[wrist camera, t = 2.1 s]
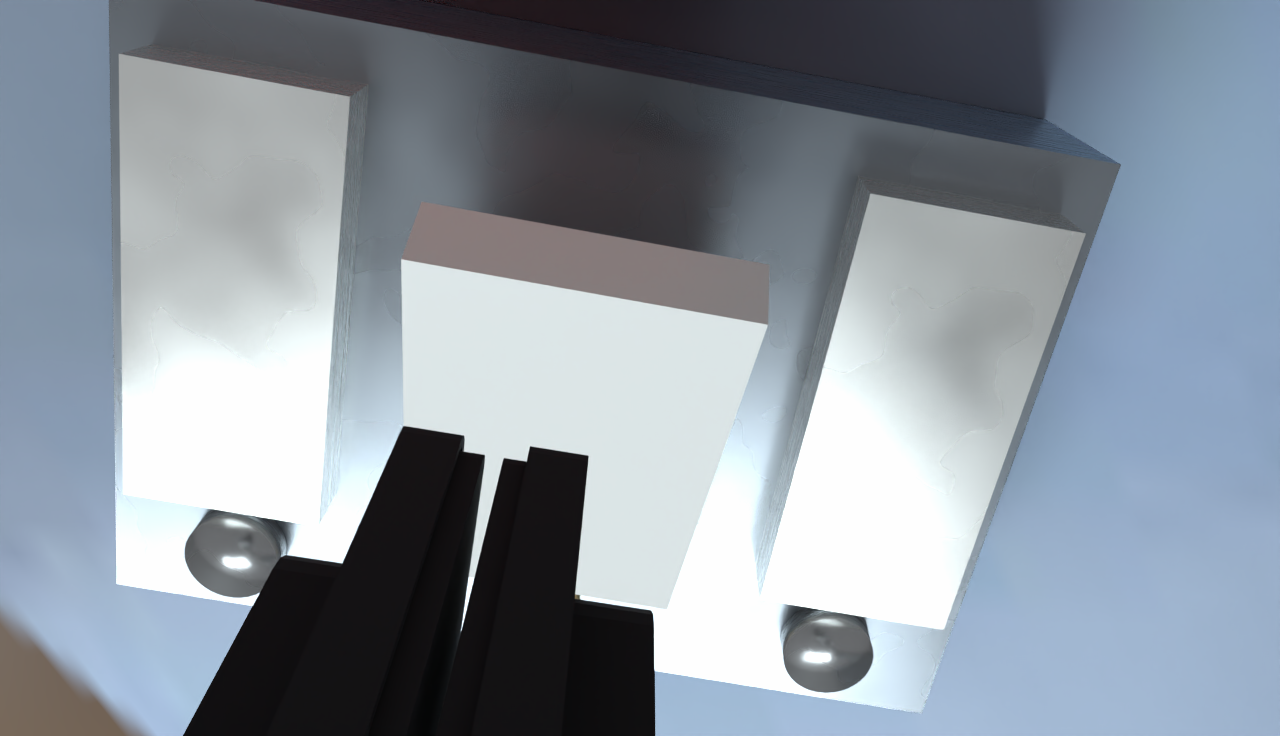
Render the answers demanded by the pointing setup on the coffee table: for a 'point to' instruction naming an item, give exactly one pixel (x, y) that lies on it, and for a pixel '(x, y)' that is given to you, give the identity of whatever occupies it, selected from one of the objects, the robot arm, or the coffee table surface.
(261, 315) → the breaker board
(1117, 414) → the coffee table surface
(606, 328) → the white rectangular plate
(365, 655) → the robot arm
